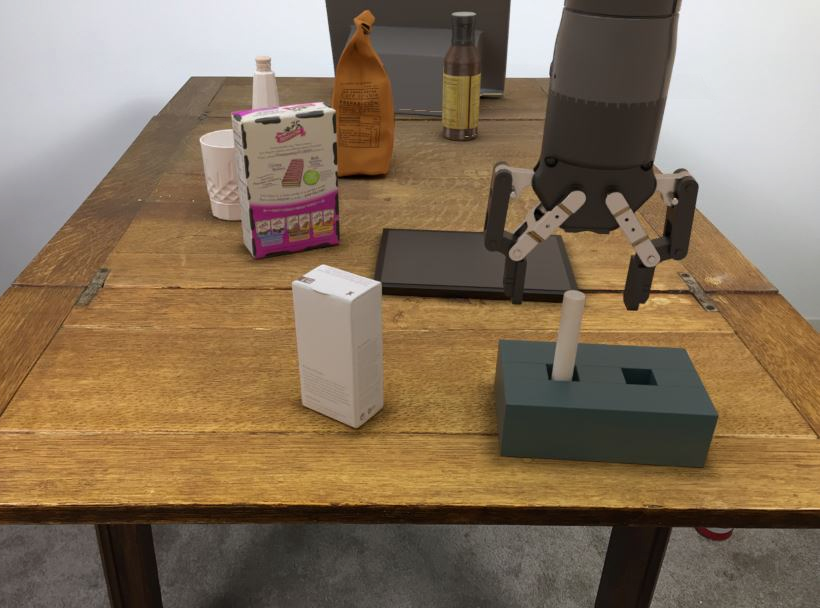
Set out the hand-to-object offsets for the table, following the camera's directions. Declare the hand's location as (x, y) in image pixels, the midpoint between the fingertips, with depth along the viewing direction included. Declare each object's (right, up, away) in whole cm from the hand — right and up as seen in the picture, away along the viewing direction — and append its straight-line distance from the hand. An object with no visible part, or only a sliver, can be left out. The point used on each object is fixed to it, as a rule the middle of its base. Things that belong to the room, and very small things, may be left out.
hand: (572, 303), depth 59 cm
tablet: (-3, +6, +32) cm, 32 cm away
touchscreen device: (-7, +44, +97) cm, 106 cm away
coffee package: (-16, +24, +62) cm, 68 cm away
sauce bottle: (0, +32, +76) cm, 83 cm away
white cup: (-33, +14, +46) cm, 58 cm away
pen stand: (+3, -10, +6) cm, 12 cm away
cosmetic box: (-18, -9, +8) cm, 21 cm away
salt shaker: (-34, +37, +85) cm, 99 cm away
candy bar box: (-25, +9, +37) cm, 45 cm away
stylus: (0, -10, +6) cm, 11 cm away
